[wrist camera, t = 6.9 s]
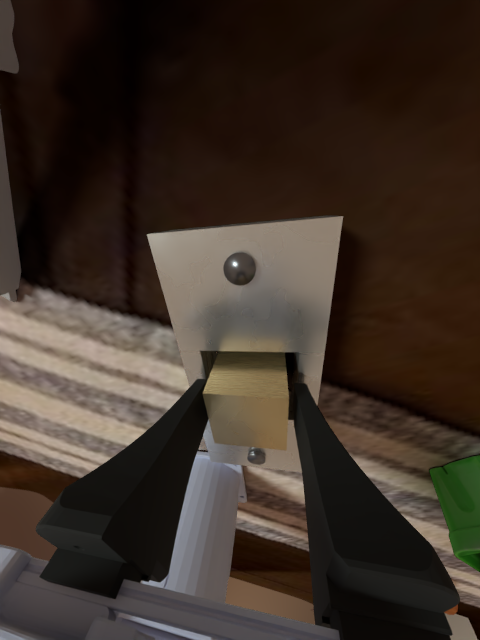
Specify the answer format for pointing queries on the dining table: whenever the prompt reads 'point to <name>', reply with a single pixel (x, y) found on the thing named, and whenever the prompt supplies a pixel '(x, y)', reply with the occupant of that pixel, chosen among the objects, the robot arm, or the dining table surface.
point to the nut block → (248, 399)
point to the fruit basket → (461, 506)
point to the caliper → (3, 255)
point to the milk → (460, 628)
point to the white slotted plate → (251, 305)
